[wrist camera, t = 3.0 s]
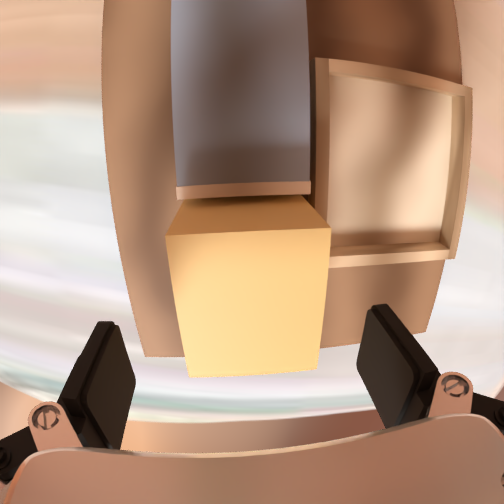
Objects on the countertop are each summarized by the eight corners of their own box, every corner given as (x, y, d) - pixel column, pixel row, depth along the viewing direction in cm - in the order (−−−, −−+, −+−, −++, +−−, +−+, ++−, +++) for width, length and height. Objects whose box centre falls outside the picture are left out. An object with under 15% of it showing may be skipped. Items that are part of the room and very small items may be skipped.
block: (296, 189, 17) (331, 228, 11) (292, 298, 20) (316, 369, 14) (186, 194, 17) (164, 235, 11) (198, 303, 20) (189, 377, 14)
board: (443, -1, 13) (479, -14, 9) (419, 323, 24) (442, 354, 20) (113, -22, 12) (89, -49, 8) (148, 346, 22) (136, 386, 19)
